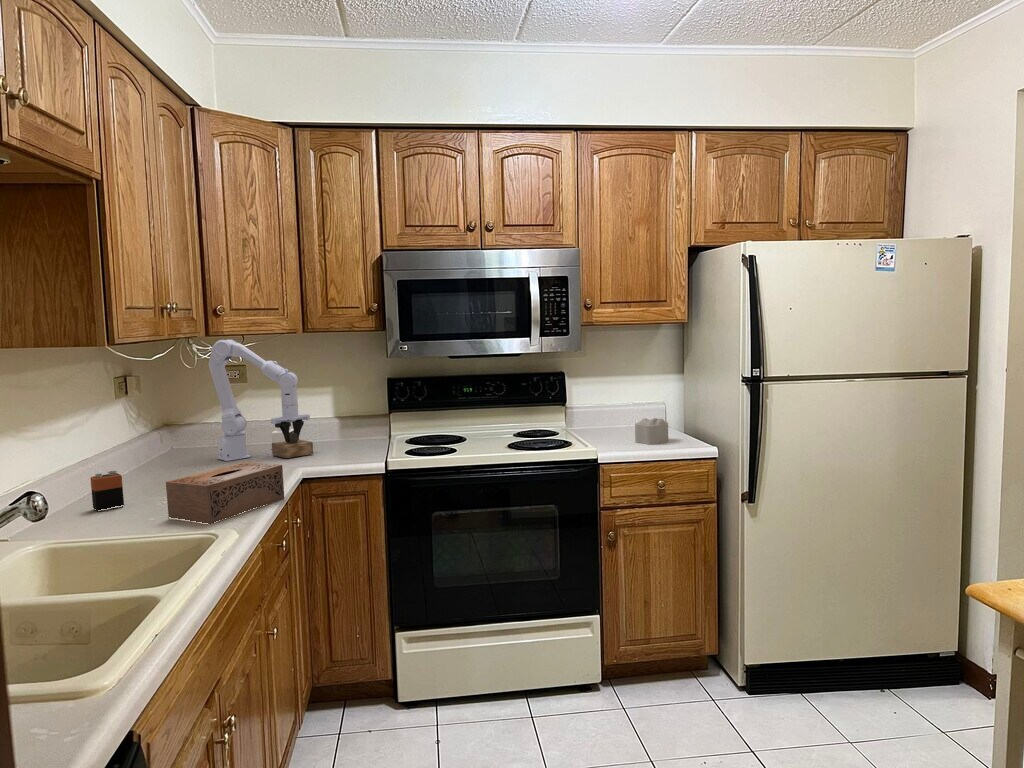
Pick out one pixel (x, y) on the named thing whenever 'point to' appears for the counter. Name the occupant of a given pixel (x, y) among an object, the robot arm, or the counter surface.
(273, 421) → the robot arm
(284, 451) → the cover
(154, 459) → the counter surface
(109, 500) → the battery
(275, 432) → the medicine bottle
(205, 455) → the counter surface
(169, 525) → the counter surface
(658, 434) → the lumpy-topped squat cylinder
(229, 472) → the tissue box cover
